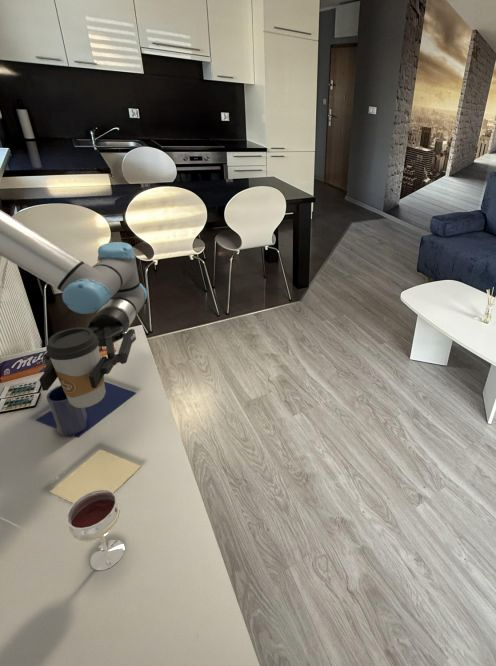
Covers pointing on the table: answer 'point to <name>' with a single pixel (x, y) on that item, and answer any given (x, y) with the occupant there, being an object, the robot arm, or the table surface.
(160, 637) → the table surface
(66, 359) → the coffee cup
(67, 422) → the navy tumbler
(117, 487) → the cream mat
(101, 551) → the wineglass
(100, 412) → the navy mat
